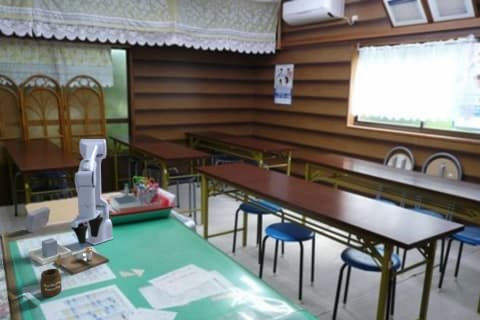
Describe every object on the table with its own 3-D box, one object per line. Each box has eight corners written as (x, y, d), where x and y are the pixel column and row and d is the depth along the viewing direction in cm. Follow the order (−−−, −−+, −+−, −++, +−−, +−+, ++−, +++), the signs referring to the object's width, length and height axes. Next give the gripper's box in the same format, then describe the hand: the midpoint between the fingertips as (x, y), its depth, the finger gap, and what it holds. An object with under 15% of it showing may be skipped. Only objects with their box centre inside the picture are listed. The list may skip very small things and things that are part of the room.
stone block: (34, 235, 165) (32, 213, 164) (25, 234, 166) (23, 212, 164) (52, 226, 177) (51, 206, 175) (43, 225, 178) (42, 205, 176)
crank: (74, 259, 139) (73, 245, 138) (83, 256, 142) (82, 242, 141) (86, 266, 134) (85, 251, 133) (95, 262, 137) (94, 248, 136)
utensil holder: (38, 292, 118) (35, 256, 116) (59, 285, 123) (56, 251, 121) (44, 299, 114) (41, 263, 112) (65, 292, 118) (63, 257, 116)
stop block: (52, 252, 147) (52, 238, 146) (57, 255, 145) (56, 240, 144) (42, 255, 144) (41, 241, 143) (47, 258, 141) (46, 243, 140)
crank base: (89, 251, 149) (88, 249, 149) (109, 261, 141) (108, 258, 141) (54, 263, 139) (54, 260, 138) (73, 274, 130) (73, 271, 130)
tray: (57, 248, 152) (57, 243, 152) (71, 255, 145) (71, 250, 145) (29, 256, 143) (28, 252, 143) (42, 265, 137) (42, 260, 136)
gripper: (90, 197, 140) (91, 231, 143) (62, 208, 127) (65, 246, 129) (106, 199, 139) (107, 234, 141) (80, 210, 125) (82, 248, 127)
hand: (88, 239), depth 135 cm, fingers open, 6 cm apart
